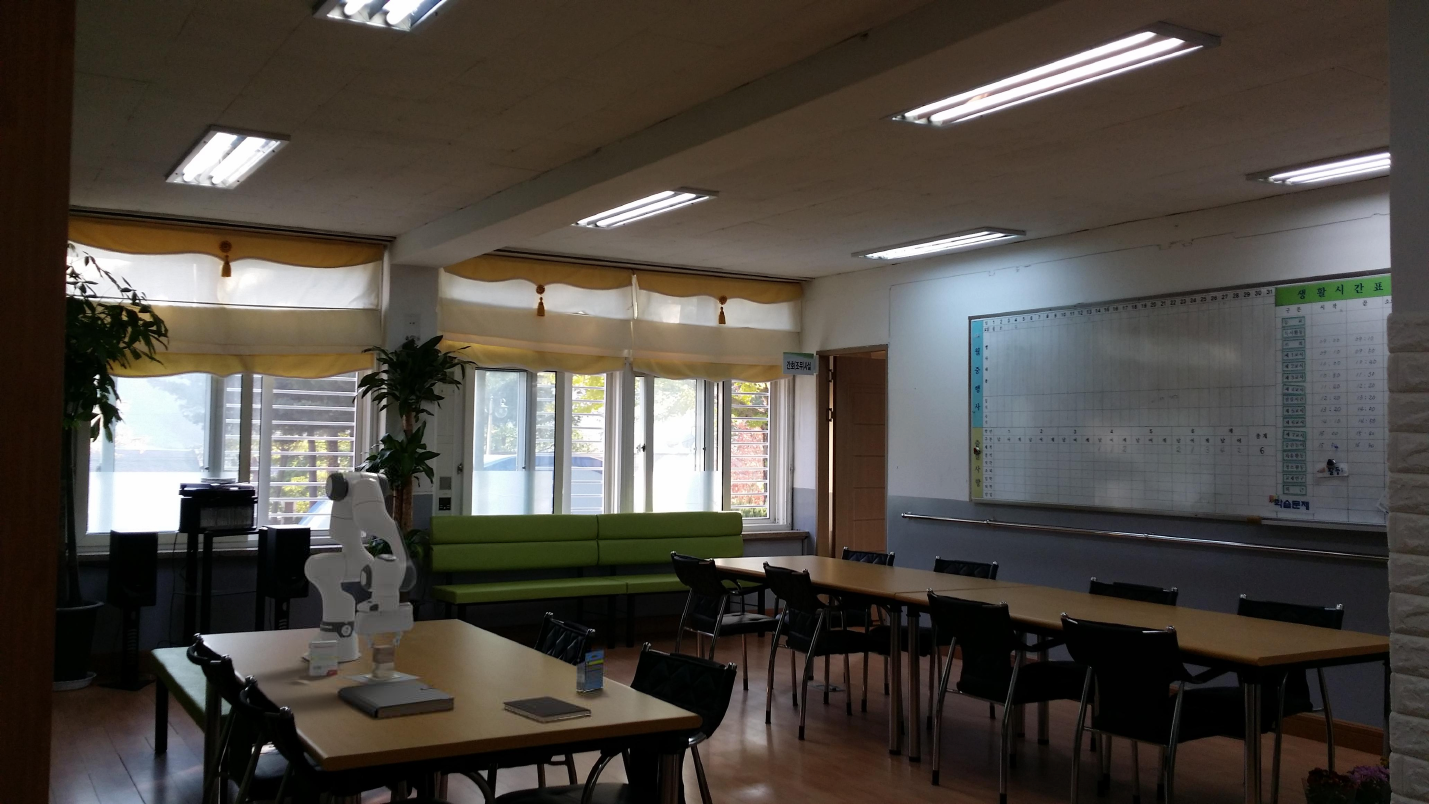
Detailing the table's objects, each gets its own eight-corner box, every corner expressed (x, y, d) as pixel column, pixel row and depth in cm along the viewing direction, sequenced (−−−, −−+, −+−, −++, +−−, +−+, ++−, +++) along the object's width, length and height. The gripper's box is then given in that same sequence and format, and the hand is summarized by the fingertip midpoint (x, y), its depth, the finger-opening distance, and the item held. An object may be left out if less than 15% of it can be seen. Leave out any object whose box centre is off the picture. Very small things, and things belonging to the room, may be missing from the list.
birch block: (371, 677, 358) (372, 662, 358) (385, 675, 362) (385, 660, 362) (379, 679, 355) (380, 663, 355) (393, 677, 358) (393, 662, 359)
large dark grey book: (455, 695, 318) (374, 706, 303) (455, 710, 317) (374, 721, 303) (414, 678, 344) (337, 687, 330) (414, 691, 344) (337, 700, 330)
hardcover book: (542, 724, 301) (542, 716, 301) (502, 710, 319) (502, 702, 319) (591, 717, 311) (591, 709, 311) (549, 703, 329) (550, 695, 329)
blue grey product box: (594, 687, 353) (595, 648, 354) (603, 688, 351) (604, 650, 351) (575, 691, 346) (576, 652, 346) (584, 692, 343) (585, 653, 344)
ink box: (335, 674, 367) (337, 639, 368) (337, 677, 362) (338, 641, 363) (308, 676, 363) (310, 640, 364) (310, 679, 359) (311, 642, 360)
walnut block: (372, 662, 358) (372, 646, 359) (386, 660, 362) (386, 645, 362) (380, 663, 355) (380, 648, 355) (394, 662, 359) (394, 646, 359)
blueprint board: (343, 680, 358) (343, 675, 358) (392, 673, 371) (392, 669, 371) (371, 687, 345) (372, 683, 345) (421, 680, 358) (421, 676, 359)
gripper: (407, 600, 370) (406, 641, 369) (352, 605, 355) (350, 648, 354) (417, 602, 365) (416, 644, 364) (362, 607, 350) (360, 650, 350)
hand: (383, 646), depth 359 cm, fingers open, 8 cm apart
